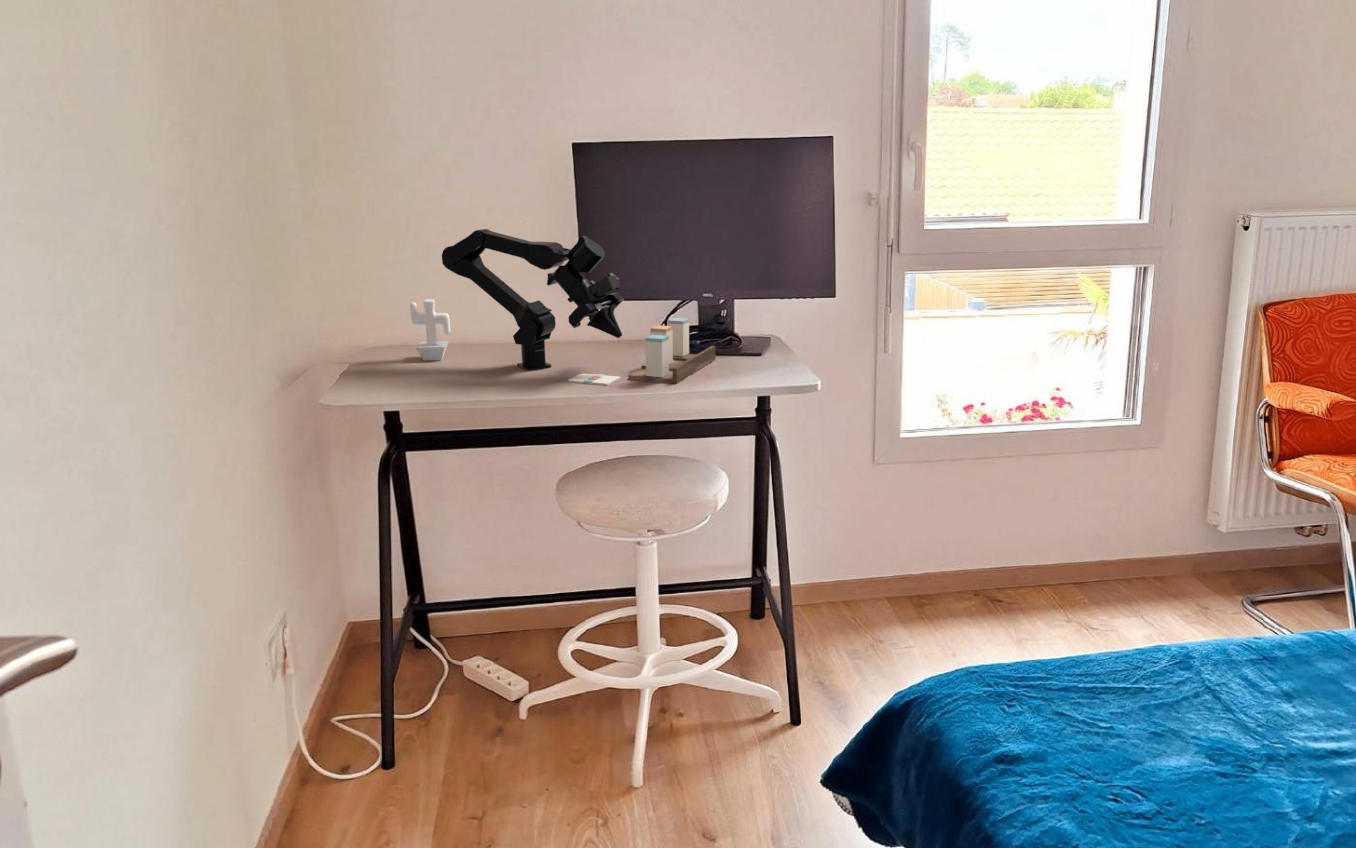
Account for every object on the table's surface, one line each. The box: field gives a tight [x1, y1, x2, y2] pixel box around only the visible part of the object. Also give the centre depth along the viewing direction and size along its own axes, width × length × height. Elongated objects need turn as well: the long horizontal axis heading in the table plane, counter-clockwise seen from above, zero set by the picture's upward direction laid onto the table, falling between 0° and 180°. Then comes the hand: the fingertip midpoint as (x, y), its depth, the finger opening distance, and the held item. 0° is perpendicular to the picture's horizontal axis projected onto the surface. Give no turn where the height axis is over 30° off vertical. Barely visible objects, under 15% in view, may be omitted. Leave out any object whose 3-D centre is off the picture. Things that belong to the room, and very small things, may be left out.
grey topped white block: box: [667, 317, 690, 356], centre depth 244 cm, size 4×4×9 cm
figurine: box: [409, 298, 451, 362], centre depth 246 cm, size 7×9×15 cm
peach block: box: [650, 324, 673, 364], centre depth 234 cm, size 4×4×9 cm
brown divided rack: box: [627, 345, 716, 385], centre depth 234 cm, size 12×26×4 cm, turn 158°
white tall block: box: [645, 334, 669, 377], centre depth 223 cm, size 4×4×9 cm
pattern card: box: [567, 373, 622, 386], centre depth 225 cm, size 10×7×1 cm
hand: (620, 336), depth 227 cm, fingers closed
